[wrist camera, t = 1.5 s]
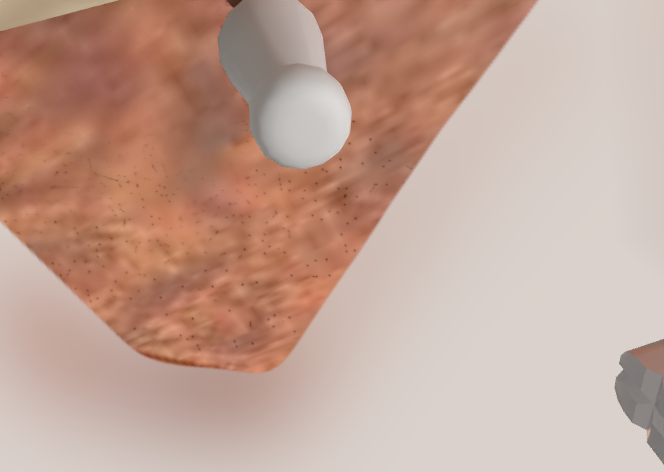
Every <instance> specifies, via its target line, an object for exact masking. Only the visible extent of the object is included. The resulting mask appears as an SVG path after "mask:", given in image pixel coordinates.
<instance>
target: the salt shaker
mask: <svg viewBox="0 0 664 472" xmlns="http://www.w3.org/2000/svg"><path fill="white" fill-rule="evenodd" d="M218 45H219V56H220V62H221V64H222V66H223V68H224V70H225V72H226V74H227V75H228V77H229V79H230V81H231V83H232V84H233V85H234V86H235V87H236V89H237V90H238V91H239V92H240V94H241V95H242V96H243V97H244V98H245V100H246V101H247V102H248V103H249V113H250V130H251V133H252V135H253V137H254V139H255V140H256V142H257V144H258V146H259V147H260V149H261V151H262V152H263V154H264V155H265V156H266V157H268V158H270V159H271V160H273V161H274V162H276V163H278V164H279V165H281V166H283V167H290V168H296V169H306V168H310V167H313V166H317V165H320V164H323V163H325V162H326V161H327V160H329V159H330V158H331V157H333V156H334V155H335V154H337V153H338V152H339V151H340V150H341V148H342V146H343V145H344V143H345V141H346V139H347V137H348V136H349V134H350V126H351V114H352V112H351V106H350V104H349V101H348V99H347V97H346V95H345V92H344V90H343V88H342V86H341V85H340V83H339V82H338V81H337V80H336V79H335V78H333V77H332V76H331V75H330V74H328V73H327V69H326V61H325V53H324V44H323V36H322V34H321V31H320V29H319V27H318V24H317V22H316V20H315V18H314V15H313V14H312V13H311V12H310V11H309V10H308V9H307V8H305V7H304V6H303V5H302V4H301V3H300V2H299V1H297V0H242V1H241V2H240V3H239V4H238V5H237V6H236V7H234V8H233V9H232V10H231V11H230V12H229V13H228V15H227V17H226V20H225V22H224V24H223V27H222V29H221V31H220V34H219V36H218Z"/></svg>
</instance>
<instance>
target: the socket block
mask: <svg viewBox="0 0 664 472" xmlns="http://www.w3.org/2000/svg"><path fill="white" fill-rule="evenodd" d="M113 1H117V0H0V31H2V30H6V29H10V28H14V27H18V26H21V25H25V24H29V23H33V22H37V21H41V20H44V19H48V18H52V17H56V16H60V15H63V14H67V13H71V12H75V11H79V10H83V9H86V8H90V7H94V6H98V5H102V4H105V3H109V2H113Z"/></svg>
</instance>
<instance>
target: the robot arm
mask: <svg viewBox="0 0 664 472" xmlns="http://www.w3.org/2000/svg"><path fill="white" fill-rule="evenodd" d="M619 364H620V365H621V366H622V368H623V369H624V370H623V371H622V372H621V373H620V374H619V375H618V376H617V377H616V382H615V391H616V395H617V398H618V401H619V403H620V405H621V407H622V409H623V411H624V412H625V414H626V415H627V416H628V418H629V419H630V420H631V422H632V423H634V424H636V425H638V426H640V427H642V428H644V429H646V430H647V443H648V444H649V446H650V447H651V448H652V449H653V451H654V452H655V453H656V455H657V456H658V457H659V459H660V460H661V461H662V463H663V464H664V339H662V340H659V341H656V342H653V343H650V344H647V345H644V346H641V347H638V348H635V349H632V350H629V351H626V352H625V353H623V354H622V355H621V358H620V362H619Z"/></svg>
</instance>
